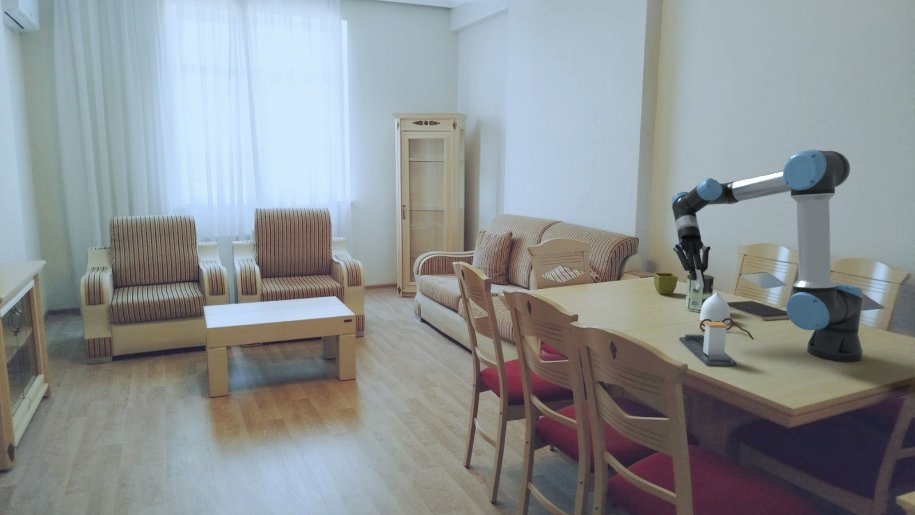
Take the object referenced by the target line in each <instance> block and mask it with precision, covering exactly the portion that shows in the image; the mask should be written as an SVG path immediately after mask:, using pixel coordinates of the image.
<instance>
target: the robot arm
mask: <svg viewBox="0 0 915 515" xmlns="http://www.w3.org/2000/svg"><path fill="white" fill-rule="evenodd" d="M850 173H851V164H850V162H849V160H848V158H847V157H846V156H845V155H844V154H843V153H840V152H838V151H833V150H818V149H812V150H811V149H808V150H802V151H799V152H796V153H794V154H793V155H792V156H790V158H789V159H787V161H786V162H785V164H784V166H783V169H781V170H777V171H772V172H768V173H765V174H764V173H763V174H759V175H755V176H750V177H746V178H742V179H738V180H735V181H733V180H732V181H729V182H725V183H720V182H719V181H718V180H717V179H714V178H712V177H711V178H710V177H708V178H706V179H705V180H703V181H701V182H700V183H699V184H698V185H697V186H695V187H694V188H693V189H691V190H690V191H689V192H688V191H680V192H679V193H675V194H674V195H673V196H672V198H671V210H672V213H673V217H674V223H675V227H676V232H677V237H678V243H677V244H675V245H674V247H673V249H672V250H673V251H674V252H675V253H676V255H677V257H678V259H679V261H680V263H681V266H682V268H683V270H684V272H688V273H689V274H688V275H690V274H691V276H692V280H695V285H696V290H701V289H702V288H703V287H704V284H703V280H704V275H705V274H704V273H705V272H706V271H707V270H708V268H709V257H710V256H709V255H710V254H709V253H710V250H711V246H710V245H709V246H708V245H707V246H706V245H704V242H703V241H702V236H701V231H700V226H699V222H698V217H697V213H698V212H699V211H701V210H702V209H704V208H705V207H706V206H708V205H709V206H710V205H712V206H713V205H732V204H737V203H739V202H742V201H748V200H753V199H758V198H762V197H769V196H773V195H777V194H783V193H788V192H790V197H791V198H792V199H793V200H794V201H795V202H796V224H797V227H796V228H797V230H796V232H797V233H796V234H797V266H798V267H797V269H798V270H797V272H798V273H797V274H798V275H797V279H798V280H796V281H795V282H794V283H793V285H792V292H793V293H792V295H791V296H790V297H789V298H788V299H787V300H786V301H787V302H786V305H785V309H786V310H785V311H786V312H787V315H788V317H789V318H788V319H789V320H790V322H791V323H793V325H794V326H796V327H797V328H800V329H801V330H807V331H813V332H812V334H811V337H810V339H809V340H808V343H807V347H806V352H808V354H810V355H813V356H815V357H818V358H821V359H826V360H831V361H839V362H858V361H861V360H862V358H863V353H864V352H863V348H862V345H861V341H860V337H859V329H860V320H861V314H862V312H861V311H862V304H863V300H864V299H863V289H862V288H861V287H859V286H856V285H851V284H845V283H838V282H834V281H833V280H832V279H831V278H832V276H831V274H832V273H831V231H830V230H831V228H830V227H831V226H830V224H831V223H830V222H831V220H830V216H831V215H830V200H831V199H832V198H833V197H834V196H835V195H836V188H837V187H839V186H841V185H842V184H843V183H844V182H846V180H847V179H848V177H850V176H849V175H850ZM701 251H702V257H701Z"/></svg>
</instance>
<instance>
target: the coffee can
mask: <svg viewBox="0 0 915 515" xmlns="http://www.w3.org/2000/svg"><path fill="white" fill-rule="evenodd" d="M686 276H687V277H686V278H687V279H686V280H687V282H686V294H685V295H686V296H685V310H686V309H687V310H686V311H689V312H693V311H694V313H701V308H702V305H703V303H704V302H705V301H706V300H707V299H708V298H709V297H711V296H713V295H714V294H713V290H714V282H715V281H714V279H715V277H714V276H712V275H710V274H708V275H707V274H704V280H703V284H704V287H703V288H702V289H701V290H696V285H695V280H692V276H691V274H687V275H686Z"/></svg>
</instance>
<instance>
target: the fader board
mask: <svg viewBox="0 0 915 515" xmlns="http://www.w3.org/2000/svg"><path fill="white" fill-rule="evenodd" d="M678 341H679V342H680V341H681V342H682V343H681V342H680V343H681V344H683V346H685V347H686V348H687V349H688V350H689V351H690V352H691V354H693V355H695V356H696V357H697V358H698V359H699V360H700V361H701V362H702V363H703V364H704V365H705V366H708V367H710V366H711V367H712V366H714V367H737V365H738V362H737V361H736V360H735V359H734V358H732V357H731V356H730V355H729V354H727V353H726V352H725V351H724V355H707V354H705V353H704V352H703V346H704V335H703V334H687V333H686V334H684V336H680V337H679V339H678Z"/></svg>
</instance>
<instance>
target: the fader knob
mask: <svg viewBox="0 0 915 515" xmlns="http://www.w3.org/2000/svg"><path fill="white" fill-rule="evenodd" d="M704 324H705V327H704V329H705V331H704V346H703V352H704V353H705V354H707V355H724V352H725V350H726V349H725V347H726V336H727V330H726V328H728V324H724V323H723V322H704Z"/></svg>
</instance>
